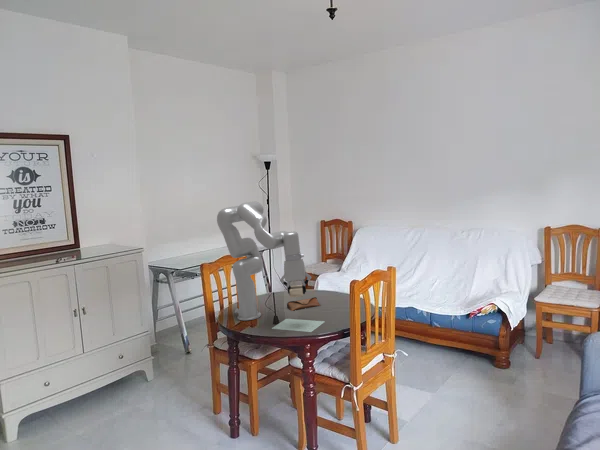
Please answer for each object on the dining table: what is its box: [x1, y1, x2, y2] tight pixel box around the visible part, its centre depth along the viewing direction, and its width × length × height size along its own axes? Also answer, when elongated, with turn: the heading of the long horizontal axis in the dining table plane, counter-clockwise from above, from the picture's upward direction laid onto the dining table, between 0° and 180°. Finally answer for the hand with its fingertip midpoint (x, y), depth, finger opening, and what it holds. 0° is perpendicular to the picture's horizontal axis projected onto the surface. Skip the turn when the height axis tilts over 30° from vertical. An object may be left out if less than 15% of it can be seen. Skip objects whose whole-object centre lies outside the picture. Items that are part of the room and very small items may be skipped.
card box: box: [289, 284, 304, 299], centre depth 223 cm, size 9×6×4 cm, turn 175°
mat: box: [271, 318, 326, 333], centre depth 225 cm, size 22×15×1 cm
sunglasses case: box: [286, 297, 322, 312], centre depth 257 cm, size 18×7×7 cm
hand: (297, 293), depth 223 cm, fingers closed on card box, 6 cm apart
